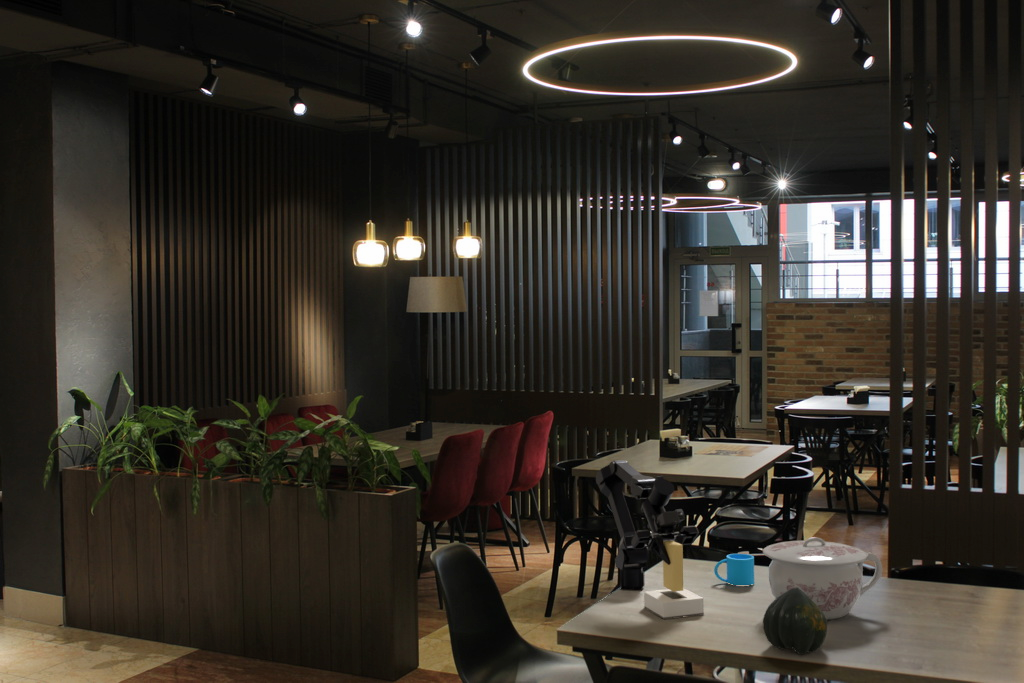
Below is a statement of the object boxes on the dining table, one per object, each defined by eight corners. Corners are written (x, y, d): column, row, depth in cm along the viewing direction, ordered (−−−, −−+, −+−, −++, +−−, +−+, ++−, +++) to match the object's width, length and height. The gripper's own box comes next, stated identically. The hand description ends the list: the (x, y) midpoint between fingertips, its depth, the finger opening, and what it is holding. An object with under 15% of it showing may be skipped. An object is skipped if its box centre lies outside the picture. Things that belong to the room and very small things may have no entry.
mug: (751, 579, 310) (750, 553, 310) (756, 586, 301) (756, 559, 301) (712, 580, 310) (711, 553, 310) (716, 587, 302) (716, 560, 302)
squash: (783, 640, 233) (814, 586, 237) (742, 626, 246) (772, 575, 251) (820, 674, 237) (850, 620, 242) (778, 658, 251) (807, 607, 255)
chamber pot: (744, 615, 272) (743, 539, 272) (792, 594, 292) (791, 523, 292) (843, 635, 253) (842, 553, 253) (887, 611, 273) (886, 535, 273)
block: (663, 586, 280) (662, 541, 279) (673, 585, 280) (672, 540, 280) (673, 591, 274) (672, 545, 274) (683, 590, 275) (682, 544, 275)
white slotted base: (644, 607, 281) (644, 591, 281) (682, 603, 285) (682, 587, 285) (663, 619, 270) (663, 602, 270) (703, 614, 273) (703, 598, 273)
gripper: (634, 501, 278) (653, 550, 267) (695, 497, 283) (715, 544, 273) (623, 525, 285) (640, 572, 275) (682, 519, 291) (701, 566, 281)
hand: (675, 563), depth 276 cm, fingers closed on block, 3 cm apart
